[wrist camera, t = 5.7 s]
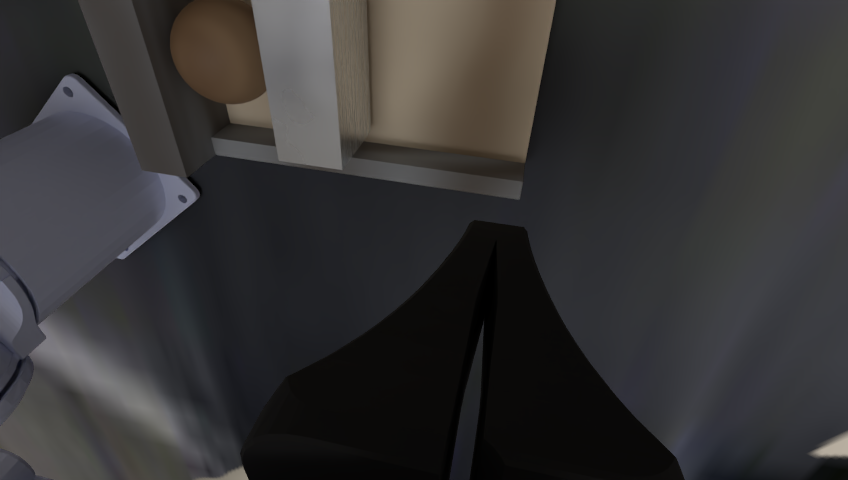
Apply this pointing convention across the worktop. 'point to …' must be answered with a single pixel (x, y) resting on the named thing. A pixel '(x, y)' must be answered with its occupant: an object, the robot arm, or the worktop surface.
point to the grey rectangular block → (315, 77)
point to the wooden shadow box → (388, 80)
